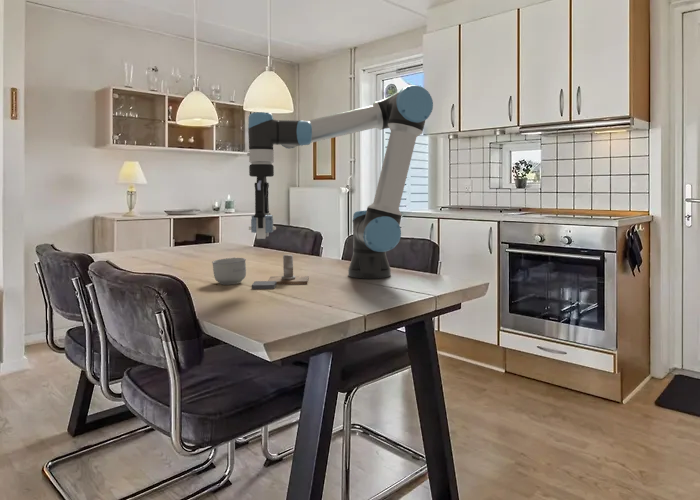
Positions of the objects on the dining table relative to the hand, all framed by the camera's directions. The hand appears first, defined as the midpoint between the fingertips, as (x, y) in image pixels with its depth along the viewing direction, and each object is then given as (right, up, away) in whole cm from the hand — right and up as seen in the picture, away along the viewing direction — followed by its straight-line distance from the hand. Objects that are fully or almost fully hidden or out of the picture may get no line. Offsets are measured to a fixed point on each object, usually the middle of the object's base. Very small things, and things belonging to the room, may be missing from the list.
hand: (262, 237), depth 169 cm
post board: (+7, -15, +11) cm, 19 cm away
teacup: (-12, -15, +10) cm, 22 cm away
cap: (0, +2, 0) cm, 2 cm away
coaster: (0, -16, +2) cm, 16 cm away
